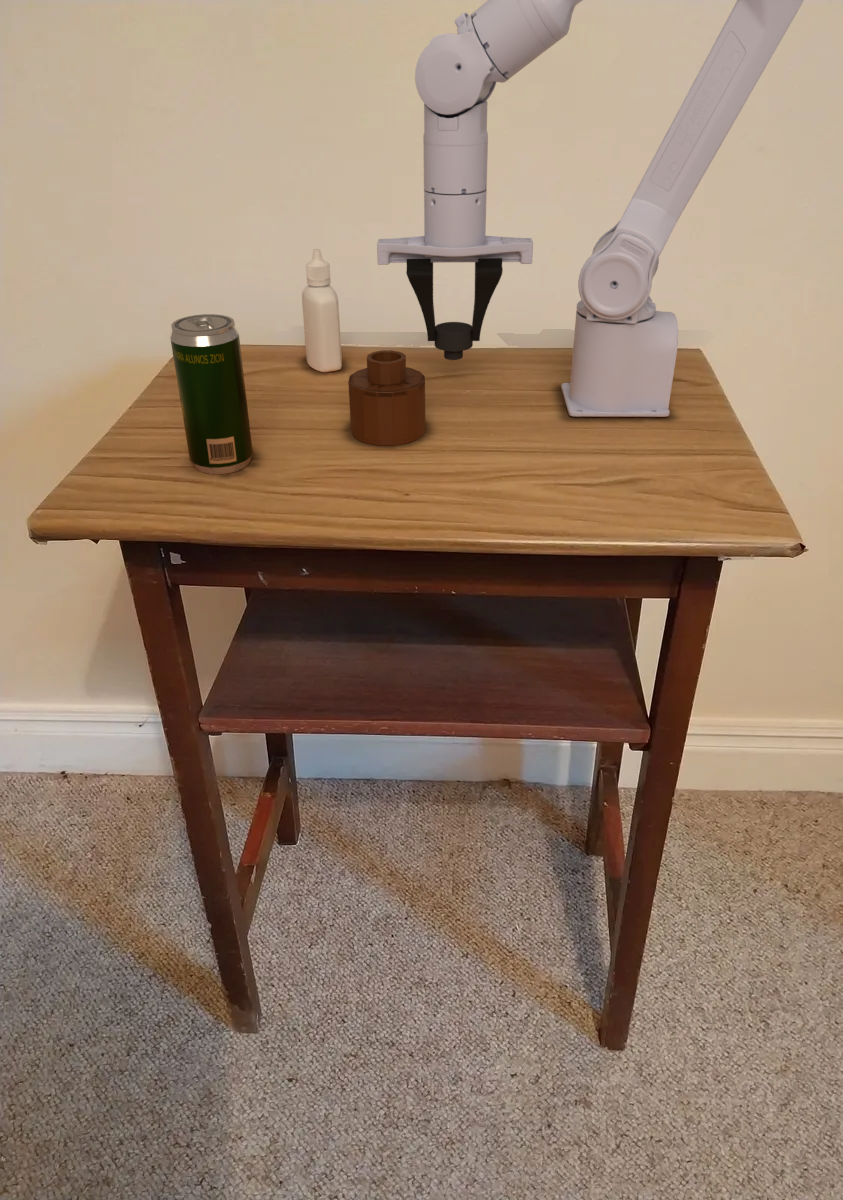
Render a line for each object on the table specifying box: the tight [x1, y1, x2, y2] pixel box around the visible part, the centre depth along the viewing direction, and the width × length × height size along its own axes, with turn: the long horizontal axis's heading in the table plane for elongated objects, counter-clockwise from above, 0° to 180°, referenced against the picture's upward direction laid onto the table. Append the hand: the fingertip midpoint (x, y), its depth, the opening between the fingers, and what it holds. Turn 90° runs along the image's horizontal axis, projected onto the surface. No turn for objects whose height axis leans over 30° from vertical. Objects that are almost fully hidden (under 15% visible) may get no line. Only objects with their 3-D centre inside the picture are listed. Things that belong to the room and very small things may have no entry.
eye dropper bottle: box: [301, 248, 343, 373], centre depth 96 cm, size 4×6×12 cm
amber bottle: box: [347, 349, 426, 447], centre depth 82 cm, size 7×7×7 cm
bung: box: [434, 321, 474, 361], centre depth 90 cm, size 4×4×3 cm
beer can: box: [169, 313, 254, 475], centre depth 75 cm, size 5×5×12 cm
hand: (454, 338), depth 90 cm, fingers closed on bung, 4 cm apart
